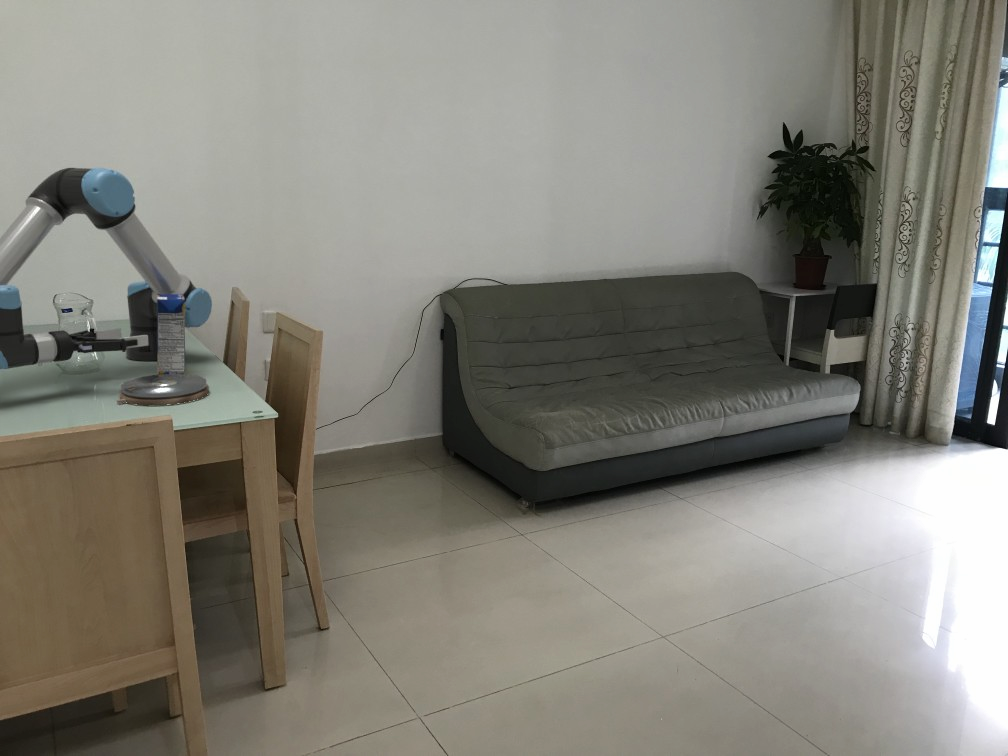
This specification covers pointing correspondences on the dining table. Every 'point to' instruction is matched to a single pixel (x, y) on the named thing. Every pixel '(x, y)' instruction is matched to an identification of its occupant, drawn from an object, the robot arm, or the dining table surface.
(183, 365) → the beverage box
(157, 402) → the turntable base
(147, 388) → the turntable
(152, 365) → the dining table surface
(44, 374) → the dining table surface
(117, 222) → the robot arm
